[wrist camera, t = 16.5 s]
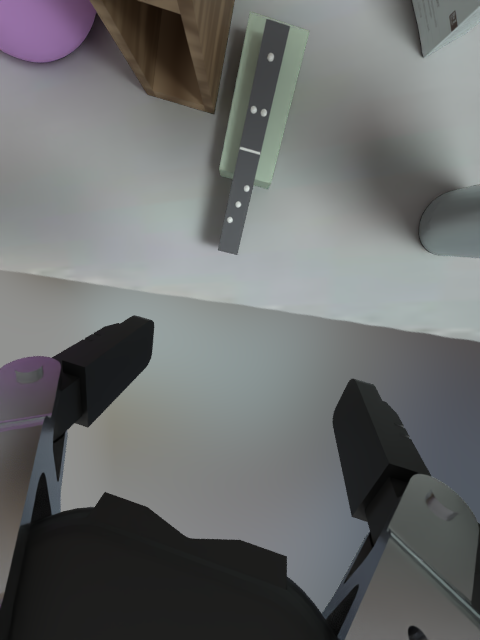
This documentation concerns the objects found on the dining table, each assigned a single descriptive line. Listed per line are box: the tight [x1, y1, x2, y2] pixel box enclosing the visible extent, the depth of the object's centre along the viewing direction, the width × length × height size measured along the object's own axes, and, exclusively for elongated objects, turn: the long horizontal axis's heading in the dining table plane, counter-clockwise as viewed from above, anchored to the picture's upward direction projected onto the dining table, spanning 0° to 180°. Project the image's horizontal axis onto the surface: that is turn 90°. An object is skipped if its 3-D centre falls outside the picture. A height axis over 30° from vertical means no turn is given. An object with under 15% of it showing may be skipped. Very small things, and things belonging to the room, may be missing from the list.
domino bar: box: [218, 19, 290, 255], centre depth 31 cm, size 3×24×3 cm, turn 166°
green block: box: [219, 12, 309, 189], centre depth 32 cm, size 7×16×4 cm, turn 166°
